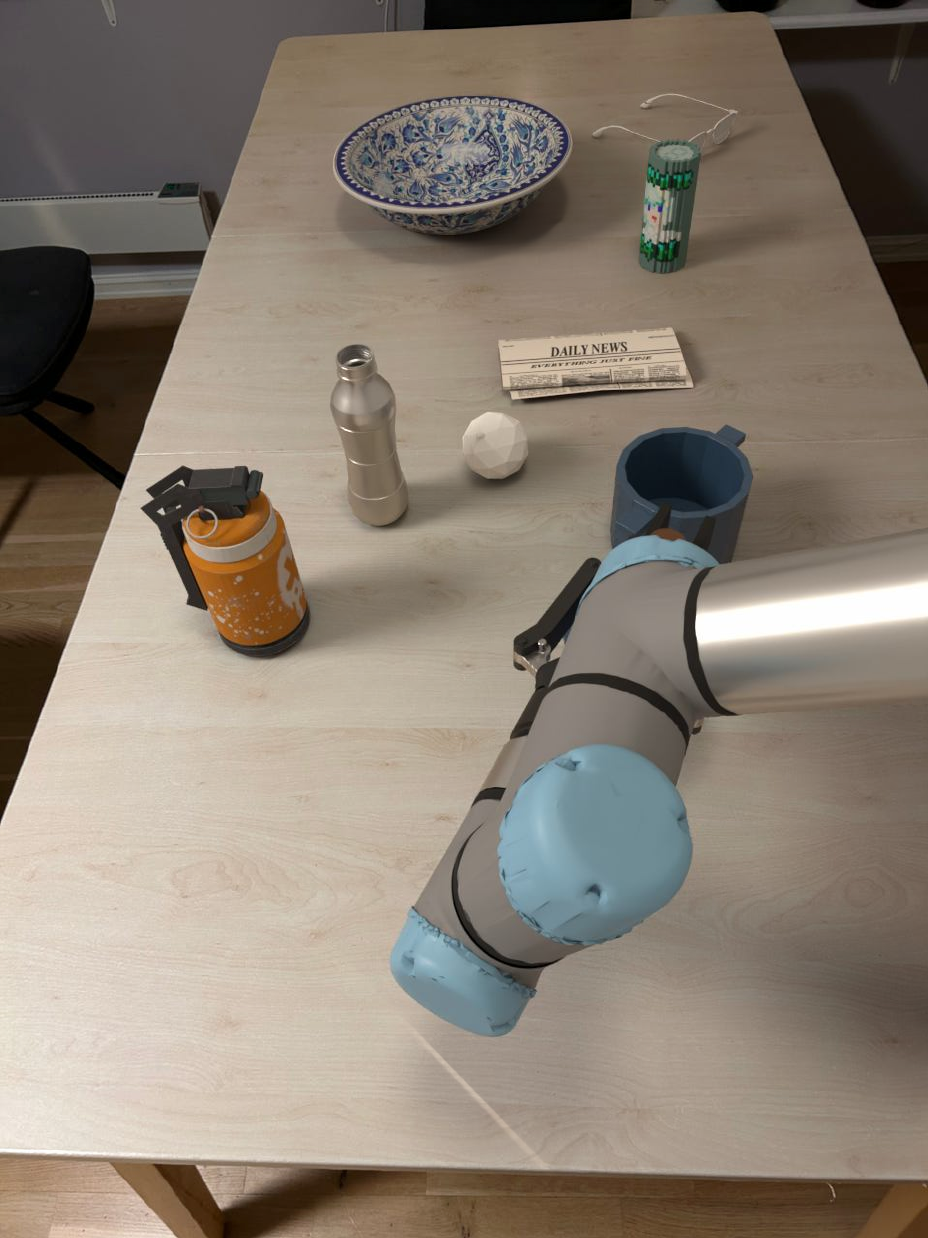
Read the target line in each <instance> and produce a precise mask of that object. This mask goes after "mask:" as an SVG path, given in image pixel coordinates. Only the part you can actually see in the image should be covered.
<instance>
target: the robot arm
mask: <svg viewBox="0 0 928 1238" xmlns="http://www.w3.org/2000/svg"><path fill="white" fill-rule="evenodd" d="M671 510H672V505H670V504H666V503H663V502H662V504H661V506H660V508H659V510H658V512H657V514H656V516H655V517H654V519H653V521H652V523H651V525H650V527H649V529H648V530H647V532H646V534H645V536H638V535H635V534H633V535H632V536H630V537H629V538H628V539H627V541H625V542H623V543H621V544H620V545H618V546H617V547H615V548H614V549H613V548H612V549H611V550H610V551H609V553H607V555H606V556H605V557H604V559H603V560H602V561H601V560H600V559H599V558H598V557H588V558H586V559H585V560H584V562H583V563H582V564H581V565H580V567H579V568H578V570H577V571H576V572H575V573H574V575H573V576H572V577H571V578H570V580H569V581H568V583H567V584H566V585H565V586H564V588H563V589H562V590H561V591H560V592H559V594H558V596H557V597H555V599H554V600H553V602H552V603H551V604H550V606H548V608H547V610H546V611H545V612H544V613H543V615H542V616H541V617H540V618H539V620H538V621H537V622H536V623H535V624H534V625H532V626H530V627H529V628H527V629H525V630H524V631H523V632H521V633H519V634H518V635H516V636H515V637H514V639H513V648H512V650H513V653H512V654H513V655H512V656H513V657H512V658H513V662H512V663H513V667H514V669H515V670H517V671H520V672H525V671H527V672H528V673H529V674H530V675H532V677H533V678H534V680H535V684H534V692H533V693H532V694H531V697H530V698H529V700H528V702H527V704H526V705H525V707H524V709H523V711H522V713H521V714H520V716H519V717H518V720H517V722H516V724H515V725H514V727H513V728H512V731H511V733H510V736H509V740H507V742H506V743H505V744H504V745H503V746H502V748H501V749H500V752H499V753H498V756H497V758H496V759H495V761H494V763H493V764H492V766H491V768H490V770H489V772H488V774H487V775H486V777H485V779H484V781H483V783H482V784H481V787H480V789H479V790H478V792H477V794H476V796H475V797H474V800H473V801H472V803H471V806H470V808H469V810H468V812H467V814H466V816H465V817H464V819H463V821H462V823H461V824H460V826H459V828H457V829H458V830H457V831H456V833H455V835H454V836H453V838H452V839H451V841H450V843H449V845H448V846H447V848H446V850H445V852H444V854H443V855H442V857H441V859H440V860H439V862H438V864H437V865H436V868H435V869H434V871H433V873H432V874H431V876H430V878H429V880H427V883H426V885H425V886H424V888H423V889H422V892H420V895H419V897H418V899H417V900H416V902H415V904H414V905H411V906H410V907H409V908H408V911H407V918H406V920H405V923H404V925H403V927H402V928H401V931H400V932H399V935H398V936H397V938H396V941H395V943H394V945H393V946H392V949H391V951H390V954H389V968H390V972H391V974H392V977H393V978H394V980H395V982H396V983H397V984H398V986H399V987H400V989H402V990H403V992H404V993H406V995H407V996H409V997H410V999H412V1000H413V1001H415V1002H416V1003H417V1004H418V1005H420V1006H422V1007H423V1008H424V1009H426V1010H427V1011H429V1012H431V1013H432V1014H433V1015H435V1016H436V1017H438V1018H440V1019H441V1020H443V1021H445V1022H447V1023H449V1024H451V1025H453V1026H455V1027H457V1028H459V1029H461V1030H464V1031H467V1032H468V1033H471V1034H475V1035H478V1036H482V1037H488V1038H499V1037H502V1036H505V1035H507V1034H509V1033H511V1032H512V1031H513V1030H514V1029H515V1028H516V1026H517V1024H518V1022H519V1020H520V1018H521V1017H522V1015H523V1013H524V1011H525V1010H526V1007H527V1005H528V1003H529V1001H530V1000H532V999H533V998H536V994H537V992H538V990H537V989H536V987H537V985H538V983H539V980H540V977H541V975H542V973H543V971H544V970H545V969H546V968H548V967H550V966H552V965H554V964H557V963H559V962H560V961H562V960H563V959H565V958H566V957H567V956H570V955H572V954H575V953H578V952H580V951H583V950H586V949H588V948H590V947H593V946H595V945H602V944H604V943H606V942H612V941H614V940H617V939H620V938H622V937H623V936H624V935H626V934H628V933H631V932H632V930H633V928H634V927H636V926H638V925H641V924H643V923H644V921H645V919H647V918H648V917H650V916H651V915H653V914H655V913H657V912H658V911H660V910H662V909H663V908H665V907H666V906H667V905H668V904H669V903H670V902H671V901H672V900H673V899H674V898H675V896H676V895H677V894H678V892H680V890H681V888H682V886H683V884H684V883H685V880H686V878H687V877H688V874H689V870H690V867H691V864H692V859H693V854H694V853H693V851H694V843H693V838H692V836H691V831H690V825H689V821H688V813H687V808H686V804H685V802H684V800H683V797H682V795H681V794H680V792H679V790H678V789H677V784H678V781H679V777H680V774H681V771H682V768H683V764H684V759H685V757H686V755H687V750H688V747H689V745H690V740H691V737H692V735H697V734H699V733H700V732H701V731H702V729H703V725H704V721H705V719H706V718H719V717H738V716H743V715H757V714H759V715H760V714H773V713H792V712H793V713H794V712H806V711H808V712H809V711H824V710H841V709H859V708H875V707H891V706H894V707H895V706H909V705H910V706H911V705H924V704H927V705H928V527H924V528H918V529H913V530H907V531H900V532H896V533H889V534H884V535H878V536H873V537H867V538H861V539H855V540H850V541H845V542H839V543H834V544H827V545H822V546H817V547H811V548H805V549H799V550H794V551H788V552H782V553H778V554H777V553H776V554H772V555H766V556H765V555H764V556H761V557H754V558H749V559H743V560H737V561H732V562H731V561H730V562H729V563H726V564H719V563H718V562H717V561H716V559H715V558H714V557H712V556H711V555H710V554H709V553H708V552H707V550H708V548H709V546H710V542H711V538H712V534H713V529H714V525H715V521H716V518H714V517H710V516H707V515H706V516H705V518H704V520H703V522H702V524H701V526H700V528H699V531H698V533H697V535H696V537H695V539H694V541H693V543H690V542H688V541H685V540H682V539H677V540H675V541H670V540H665V539H661V538H660V537H659V536H658V535H650V534H651V533H652V532H654V531H656V530H658V529H663V528H667V529H668V526H669V521H670V515H671ZM573 623H574V624H573ZM572 625H573V626H572ZM571 626H572V629H571V631H570V634H569V636H568V639H567V641H566V644H565V645H564V647H563V649H562V652H561V654H560V656H558V657H556V658H554V659H552V660H551V656H552V655H551V654H552V653H553V651H554V650H555V649H556V647H557V646H558V645H559V643H560V642H562V640H563V637H564V635H565V634H566V633H567V631H568V630H569V629H570V627H571Z"/></svg>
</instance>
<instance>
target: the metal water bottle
mask: <svg viewBox="0 0 928 1238" xmlns="http://www.w3.org/2000/svg"><path fill="white" fill-rule="evenodd" d="M335 364H336V375H337V378H338V380H337V382H336V384H335V386H334V387H333V390H332V391H331V394H330V402H329V409H330V412H331V415H332V418H333V421H334V424H335V426H336V428H337V429H336V430H337V432H338V434H339V436H340V440H341V443H342V448H343V450H344V451H343V452H344V456H345V459H346V468H347V478H348V479H347V499H348V500H347V501H348V504H349V506H350V509H351V511H352V513H353V514H354V516H355V518H356V519H358V520H359V521H361V522H363V523H365V524H366V525H369V526H374V527H377V526H378V527H381V526H387V525H389V524H392V523H394V522H395V521H397V520H399V518H400V517H401V516H402V515H403V514H404V512H405V511H406V509H407V507H408V503H409V487H408V484H407V480H406V477H405V475H404V473H403V470H402V467H401V462H400V459H399V454H398V449H397V437H396V435H397V434H396V415H397V414H396V413H397V412H396V410H397V409H396V408H397V403H396V401H397V400H396V394H395V392H394V389H393V388H392V386H391V383H389V381H388V380H386V379H385V378H384V377H383V376H382V375H381V374H380V373H378V369H379V368H378V364H377V361H376V357H375V352H374V350H373V349H372V347H370V346H369V345H367V344H363V343H351V344H348V345H345V346H343V347H341V348H340V349H339V350H338V351H337V352H336V354H335Z"/></svg>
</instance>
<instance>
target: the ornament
mask: <svg viewBox="0 0 928 1238" xmlns="http://www.w3.org/2000/svg"><path fill="white" fill-rule="evenodd" d="M461 440H462V455H463V457H464V459H465V461H466V462H467V464H468V466H469V468H470V470H471V471H473V472H475V473H476V474H478V475H479V476H482V477H483V478H485V479H490V480H491V479H492V480H504V479H505V478H507V477H509V476H511V475H513V474H515V473H516V472H518V471H520V470H521V468H522V466H523V464H524V463H525V460H526V459H527V457H528V455H529V444H528V436H527V434H526V432H525V430H524V427H523V425H522V422H521V421H520V420H518V419H516V418H514V417H512V416H510V415H508V414H507V413H505V412H495V411H487V412H485V413H483V414H481V415H480V416H478V417H476V418H474V419H472V420H471V421H470V423H469V424H468V427H467V428H466V430H465V431H464V433H463V436H462V439H461Z"/></svg>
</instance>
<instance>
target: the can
mask: <svg viewBox="0 0 928 1238" xmlns="http://www.w3.org/2000/svg"><path fill="white" fill-rule="evenodd" d="M659 141H660V142H658V141H657V142H656V143H654V144H653V145H651V146H650V148H649V149H648V160H647V171H646V181H645V192H644V199H643V209H642V219H641V220H642V221H641V230H640V231H641V232H640V241H639V251H638V264H639V265H641V268H643V269H645V270H646V271H648V272H651V273H657V274H665V273H666V274H670V273H671V272H673V273H675V272H677V271H678V270H680V269H681V268H684V267H685V264H686V262H687V254H688V248H689V241H690V233H691V227H692V221H693V220H692V219H693V214H694V213H693V212H694V206H695V198H696V191H697V183H698V177H699V170H700V163H701V155H702V152H700V151H701V150H700V148H699V147H697V144H694V143H691V142H689V140H686V139H684V140H681V139H678V138H677V139H675V138H674V139H673V138H672V139H666V140H659Z"/></svg>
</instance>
